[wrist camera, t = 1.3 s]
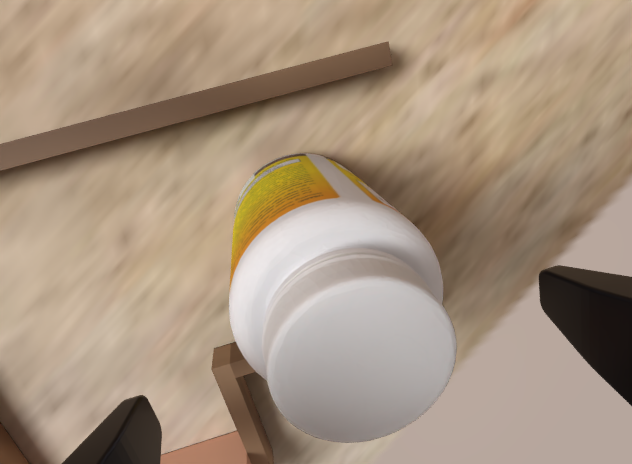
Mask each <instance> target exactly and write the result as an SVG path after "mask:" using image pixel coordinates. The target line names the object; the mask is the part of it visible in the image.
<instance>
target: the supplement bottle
mask: <svg viewBox="0 0 632 464" xmlns="http://www.w3.org/2000/svg"><path fill="white" fill-rule="evenodd" d="M442 302H443V280H442V274H441V269H440V265H439V262H438V259H437V257H436V255H435V252H434V250H433V248H432V247H431V245H430V243H429V242H428V240H427V239H426V238H425V236H424V235H423V234H422V233H421V232H420V231H419V229H418V228H417V227H416V226H415V225H414V224H413V223H412V222H411V221H409V220H408V219H407V218H406V217H405V216H404V215H402V214H401V213H400V212H399V211H398V210H397V209H395V208H394V207H393V206H392V205H390V204H389V203H388V202H387V201H386V200H384V199H383V198H382V197H381V196H379V195H378V194H377V193H376V192H375V191H374V190H372V189H371V188H370V187H369V186H368V185H366V184H365V183H364V182H363V181H362V180H360V179H359V178H358V177H356V176H355V175H354V174H353V173H351V172H350V171H349V170H348V169H346V168H345V167H344V166H342V165H341V164H339V163H337V162H336V161H334V160H332V159H329V158H327V157H324V156H321V155H316V154H309V153H297V154H290V155H286V156H282V157H279V158H277V159H275V160H273V161H271V162H269V163H267V164H265V165H264V166H262V167H261V168H260V169H258V170H257V171H256V172H255V173H254V174H253V175H252V176H251V177H250V179H249V180H248V181H247V182H246V184H245V185H244V187H243V189H242V191H241V193H240V195H239V198H238V201H237V204H236V208H235V214H234V226H233V242H232V259H231V276H230V292H229V315H230V323H231V328H232V331H233V335H234V338H235V341H236V343H237V345H238V347H239V349H240V351H241V353H242V355H243V356H244V358H245V359H246V360H247V362H248V363H249V365H250V366H251V367H252V368H253V369H254V370H255V371H256V372H257V373H258V374H259V375H260V376H262V377H263V378H264V379H265V380H267V383H268V386H269V390H270V394H271V396H272V399H273V401H274V403H275V405H276V406H277V408H278V409H279V411H280V412H281V414H282V415H283V416H284V417H285V418H286V419H287V420H288V421H289V422H290V423H291V424H293V425H294V426H295V427H297V428H298V429H300V430H301V431H303V432H305V433H307V434H309V435H311V436H314V437H316V438H320V439H323V440H328V441H333V442H344V443H352V442H363V441H370V440H374V439H377V438H381V437H384V436H387V435H390V434H392V433H394V432H397V431H399V430H401V429H402V428H404V427H406V426H408V425H409V424H411V423H412V422H414V421H416V420H417V419H418V418H419V417H421V416H422V415H423V414H424V413H425V412H426V411H427V410H428V409H429V408H430V407H431V406H432V405H433V404H434V403H435V402H436V400H437V399H438V398H439V396H440V395H441V394H442V392H443V391H444V389H445V387H446V385H447V384H448V382H449V379H450V377H451V375H452V371H453V368H454V364H455V359H456V335H455V330H454V327H453V324H452V321H451V319H450V317H449V315H448V313H447V311H446V310H445V308H444V306H443V305H442Z"/></svg>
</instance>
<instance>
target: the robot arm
mask: <svg viewBox="0 0 632 464" xmlns="http://www.w3.org/2000/svg"><path fill="white" fill-rule="evenodd" d="M539 289H540V303H541V306H542V309H543V310H544V312H545V313H546V314H547V316H548V317H549V318H550V319H551V320H552V322H553V323H554V324H555V325H556V326H557V328H559V330H560V331H561V332H562V333H563V335H564V336H565V337H566V338H567V339H568V341H569V342H570V343H571V344H572V345H573V346H574V348H575V349H576V350H577V351H578V352H579V353H580V355H581V356H582V357H583V358H584V359H585V360H586V361H587V362H588V364H590V366H591V367H592V368H593V369H594V370H595V371H596V372H597V373H598V374H599V375H600V376H601V377H602V378H604V380H605V381H606V382H607V383H609V384H610V385H611V386H612V387H613V388H614V389H615V390H616V391H617V392H618V393H619V394H620V395H621V396H622V397H623V398H624V399H625V400H626V401H627V402H628V403H629V404H630V405H631V406H632V277H629V276H622V275H616V274H609V273H604V272H597V271H591V270H585V269H579V268H573V267H566V266H554V267H551V268H547V269H544V270H542V271H541V272H540V274H539ZM161 439H162V431H161V426H160V423H159V421H158V419H157V417H156V415H155V413H154V411H153V409H152V407H151V405H150V403H149V401H148V399H147V398H146V397H145V396H143V395H139V396H136V397H133V398H129V399H126V400H124V401H123V402H121V403H120V404H119V405H118V407H117V408H116V409H115V410H114V411H113V412H112V413H111V414H110V415H109V416H108V417H107V418H106V419H105V420H104V421H103V422H102V423H101V424H100V425H99V426H98V427H97V428H96V429H95V430H94V431H93V432H92V433H91V434H90V435H89V436H88V437H87V438H86V439H85V440H84V441H83V442H82V443H81V444H80V445H79V447H78V448H77V449H76V450H75V451H74V452H73V453H72V454H71V455H70V456H69V457H68V458H67V459H66V460H65V461H64V462H63V463H62V464H160V460H161Z"/></svg>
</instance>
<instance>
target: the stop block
mask: <svg viewBox="0 0 632 464" xmlns="http://www.w3.org/2000/svg"><path fill="white" fill-rule="evenodd" d="M160 464H251V462H250V459H249V457H248V455H247V452H246V450H245V447H244V445H243V443H242V440H241V438H240V436H239V433H238V431H235V432H232V433H229V434H226V435H223V436H220V437H217V438H213V439H210V440H207V441H204V442H201V443H198V444H195V445H192V446H189V447H185V448H182V449H179V450H176V451H173V452H170V453H167V454H164V455H161V460H160Z"/></svg>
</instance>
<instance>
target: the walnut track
mask: <svg viewBox="0 0 632 464" xmlns="http://www.w3.org/2000/svg"><path fill="white" fill-rule="evenodd" d="M388 66H392V60H391V54H390V48H389V42H384V43H380V44H377V45H373V46H369V47H365V48H362V49H358V50H354V51H350V52H346V53H343V54H339V55H335V56H331V57H328V58H324V59H320V60H316V61H312V62H309V63H305V64H301V65H297V66H294V67H290V68H286V69H282V70H278V71H275V72H271V73H267V74H263V75H260V76H256V77H252V78H248V79H244V80H241V81H237V82H233V83H229V84H226V85H222V86H218V87H214V88H210V89H207V90H203V91H199V92H195V93H192V94H188V95H184V96H180V97H176V98H173V99H169V100H165V101H161V102H158V103H154V104H150V105H146V106H142V107H139V108H135V109H131V110H127V111H124V112H120V113H116V114H112V115H108V116H105V117H101V118H97V119H93V120H89V121H86V122H82V123H78V124H74V125H71V126H67V127H63V128H59V129H55V130H52V131H48V132H44V133H40V134H37V135H33V136H29V137H25V138H21V139H18V140H14V141H10V142H6V143H3V144H0V171H1V170H5V169H8V168H12V167H16V166H20V165H23V164H27V163H31V162H34V161H38V160H42V159H46V158H49V157H53V156H57V155H61V154H64V153H68V152H72V151H75V150H79V149H83V148H87V147H90V146H94V145H98V144H101V143H105V142H109V141H113V140H116V139H120V138H124V137H128V136H131V135H135V134H139V133H142V132H146V131H150V130H154V129H157V128H161V127H165V126H168V125H172V124H176V123H180V122H183V121H187V120H191V119H195V118H198V117H202V116H206V115H209V114H213V113H217V112H221V111H224V110H228V109H232V108H235V107H239V106H243V105H247V104H250V103H254V102H258V101H262V100H265V99H269V98H273V97H276V96H280V95H284V94H288V93H291V92H295V91H299V90H302V89H306V88H310V87H314V86H317V85H321V84H325V83H329V82H332V81H336V80H340V79H343V78H347V77H351V76H355V75H358V74H362V73H366V72H369V71H373V70H377V69H381V68H384V67H388ZM212 372H213V374H214V376H215V379H216V381H217V383H218V386H219V388H220V391H221V393H222V395H223V398H224V400H225V402H226V405H227V407H228V410H229V412H230V414H231V417H232V419H233V421H234V424H235V426H236V428H237V431H238V433H239V436H240V438H241V440H242V443H243V445H244V447H245V450H246V452H247V455H248V457H249V459H250V462H251V464H274V462H273V451H272V448H271V445H270V443H269V440H268V438H267V435H266V433H265V430H264V427H263V425H262V422H261V420H260V417H259V415H258V412H257V409H256V407H255V404H254V402H253V399H252V397H251V394H250V391H249V389H248V386H247V384H246V381H245V379H244V375H247V374H250V373H254V372H256V371H255V370H254V369H253V368H252V367H251V366H250V365H249V363H248V362H247V360H246V359H245V358H244V356H243V355H242V353H241V351H240V349H239V347H238V345H237V343H236V342H234V343H231V344H227V345H224V346H221V347H218V348H214V353H213V361H212ZM0 464H29V463H28V462H27V460H26V459H25V457H24V456H23V454H22V453H21V451H20V450H19V449H18V447H17V446H16V444H15V443H14V441H13V440H12V439H11V437H10V436H9V434H8V433H7V431H6V430H5V428H4V427H3V426H2V424H1V423H0Z"/></svg>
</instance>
